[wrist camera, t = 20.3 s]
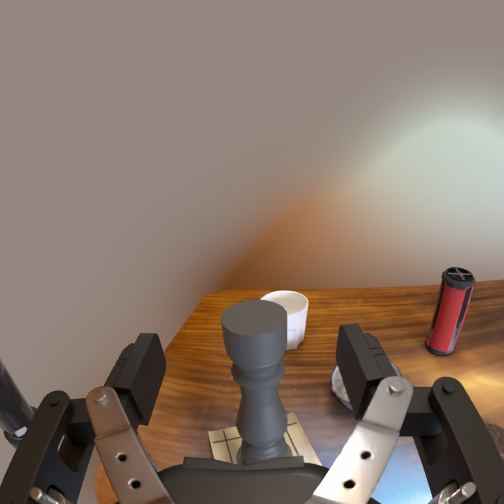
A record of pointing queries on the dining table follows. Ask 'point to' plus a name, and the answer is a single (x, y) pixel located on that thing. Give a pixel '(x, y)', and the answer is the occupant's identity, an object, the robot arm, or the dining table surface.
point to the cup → (292, 314)
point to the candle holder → (258, 375)
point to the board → (229, 442)
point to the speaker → (450, 310)
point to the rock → (497, 437)
